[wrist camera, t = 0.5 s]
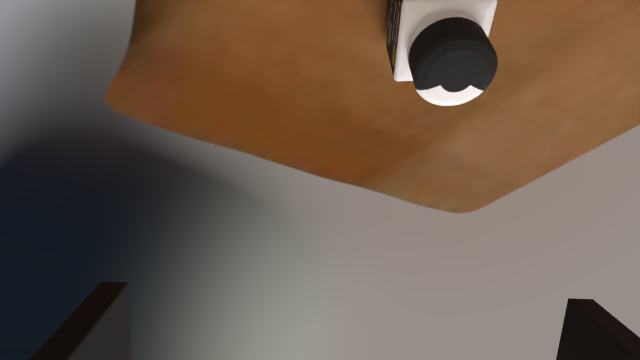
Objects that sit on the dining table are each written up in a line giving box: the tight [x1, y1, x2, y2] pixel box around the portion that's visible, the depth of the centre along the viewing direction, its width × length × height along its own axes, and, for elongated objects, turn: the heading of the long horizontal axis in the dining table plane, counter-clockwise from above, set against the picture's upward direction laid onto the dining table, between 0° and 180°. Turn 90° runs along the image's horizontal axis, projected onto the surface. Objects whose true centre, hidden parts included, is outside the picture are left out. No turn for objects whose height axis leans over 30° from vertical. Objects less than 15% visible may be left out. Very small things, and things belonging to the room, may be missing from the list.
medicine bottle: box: [385, 0, 498, 106], centre depth 38 cm, size 7×7×12 cm
